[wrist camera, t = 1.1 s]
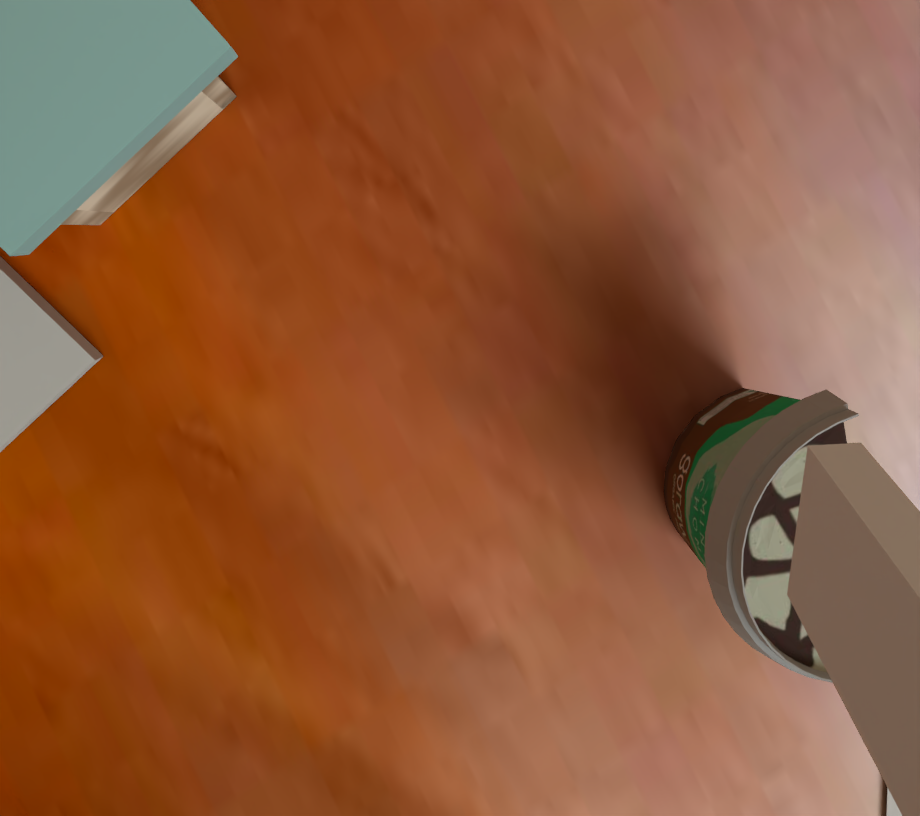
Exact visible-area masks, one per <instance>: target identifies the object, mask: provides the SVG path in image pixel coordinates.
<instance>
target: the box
mask: <svg viewBox="0 0 920 816" xmlns="http://www.w3.org/2000/svg"><path fill="white" fill-rule="evenodd" d="M236 97H237V96H236V95H235V94H234V93H233V92H232V91H231V90H230V88H229V87H228V86H227V85H226V84H225V83H224V82H223V81H222V79H221V78H220V77H219V76H217V77H216V78H215V79H214V80H213V81H212V82H211V83H210V84H209V85H208V86H207V87H206V88H205V89H204V90H202V91H201V92H200V93H199V94H198V95H197V96H196V97H195V98H194V99H193V100H192V101H191V102H190V103H189V104H188V105H187V106H186V107H184V108H183V109H182V110H181V111H180V112H179V113H178V114H177V115H176V116H175V117H174V118H173V119H172V120H171V121H170V122H169V123H168V124H167V125H165V126H164V127H163V128H162V129H161V130H160V131H159V132H158V133H157V134H156V135H155V136H154V137H153V138H152V139H151V140H150V141H149V142H147V143H146V144H145V145H144V146H143V147H142V148H141V149H140V150H139V151H138V152H137V153H136V154H135V155H134V156H133V157H132V158H131V159H129V160H128V161H127V162H126V163H125V164H124V165H123V166H122V167H121V168H120V169H119V170H118V171H117V172H116V173H115V174H114V175H113V176H112V177H110V178H109V179H108V180H107V181H106V182H105V183H104V184H103V185H102V186H101V187H100V188H99V189H98V190H97V191H96V192H95V193H94V194H92V195H91V196H90V197H89V198H88V199H87V200H86V201H85V202H84V203H83V204H82V205H81V206H80V207H79V208H78V209H77V210H76V211H74V212H73V213H72V214H71V215H70V216H69V217H68V218H67V219H66V220H65V221H64V222H63V223H62V225H101V224H102V223H103V222H104V221H105V220H106V219H107V218H108V217H109V216H110V215H111V214H112V213H114V212H115V211H116V210H117V209H118V208H119V207H120V206H121V205H122V204H123V203H124V202H125V201H126V200H127V199H128V198H129V197H131V196H132V195H133V194H134V193H135V192H136V191H137V190H138V189H139V188H140V187H141V186H142V185H143V184H144V183H145V182H146V181H148V180H149V179H150V178H151V177H152V176H153V175H154V174H155V173H156V172H157V171H158V170H159V169H160V168H161V167H162V166H163V165H165V164H166V163H167V162H168V161H169V160H170V159H171V158H172V157H173V156H174V155H175V154H176V153H177V152H178V151H179V150H180V149H181V148H183V147H184V146H185V145H186V144H187V143H188V142H189V141H190V140H191V139H192V138H193V137H194V136H195V135H196V134H197V133H198V132H200V131H201V130H202V129H203V128H204V127H205V126H206V125H207V124H208V123H209V122H210V121H211V120H212V119H213V118H214V117H215V116H217V115H218V114H219V113H220V112H221V111H222V110H223V109H224V108H225V107H226V106H227V105H228V104H229V103H230V102H231V101H232V100H234V99H235V98H236Z"/></svg>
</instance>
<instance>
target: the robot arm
mask: <svg viewBox="0 0 920 816" xmlns="http://www.w3.org/2000/svg"><path fill="white" fill-rule="evenodd" d="M787 596H788V597H789V599H790V601H791V603H792V605H793V607H794V609H795V611H796V613H797V615H798V617H799V619H800V620H801V622H802V624H803V626H804V628H805V630H806V632H807V634H808V636H809V638H810V640H811V642H812V643H813V645H814V647H815V649H816V651H817V653H818V655H819V657H820V659H821V661H822V663H823V665H824V666H825V668H826V670H827V672H828V674H829V676H830V678H831V680H832V682H833V684H834V686H835V688H836V689H837V691H838V693H839V695H840V697H841V699H842V701H843V703H844V705H845V707H846V709H847V711H848V712H849V714H850V716H851V718H852V720H853V722H854V724H855V726H856V728H857V730H858V732H859V734H860V735H861V737H862V739H863V741H864V743H865V745H866V747H867V749H868V751H869V753H870V755H871V757H872V758H873V760H874V762H875V764H876V766H877V768H878V770H879V772H880V774H881V776H882V778H883V780H884V781H885V783H886V785H887V787H888V789H889V791H890V793H891V795H892V797H893V799H894V801H895V803H896V804H897V806H898V808H899V810H900V812H901V814H902V816H920V511H919V510H918V509H917V508H916V507H915V506H914V504H913V503H912V502H911V501H910V500H909V499H908V497H907V496H906V495H905V494H904V493H903V492H902V490H901V489H900V488H899V487H898V486H897V485H896V483H895V482H894V481H893V480H892V479H891V478H890V476H889V475H888V474H887V473H886V472H885V470H884V469H883V468H882V467H881V466H880V465H879V463H878V462H877V461H876V460H875V459H874V458H873V456H872V455H871V454H870V453H869V452H868V451H867V449H866V448H865V447H864V446H863V445H862V444H861V443H847V444H828V445H809V446H807V454H806V461H805V468H804V475H803V482H802V490H801V497H800V504H799V511H798V518H797V526H796V533H795V540H794V547H793V555H792V562H791V569H790V576H789V583H788V591H787Z"/></svg>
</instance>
